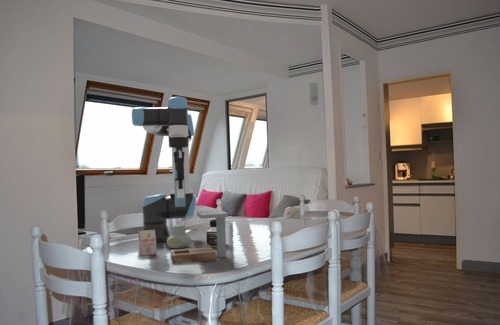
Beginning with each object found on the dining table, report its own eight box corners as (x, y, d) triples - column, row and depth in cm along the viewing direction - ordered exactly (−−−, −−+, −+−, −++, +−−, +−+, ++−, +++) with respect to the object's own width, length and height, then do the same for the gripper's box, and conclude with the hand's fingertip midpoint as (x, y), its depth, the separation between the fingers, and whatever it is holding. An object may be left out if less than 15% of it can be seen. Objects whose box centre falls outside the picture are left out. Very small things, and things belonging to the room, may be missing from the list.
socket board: (170, 257, 157) (170, 250, 157) (210, 254, 161) (210, 246, 161) (172, 263, 145) (172, 255, 145) (215, 260, 149) (215, 252, 149)
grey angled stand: (198, 254, 161) (196, 211, 161) (222, 252, 163) (220, 210, 164) (202, 261, 147) (201, 214, 148) (228, 259, 150) (227, 213, 150)
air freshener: (163, 249, 176) (163, 226, 176) (172, 245, 184) (172, 224, 184) (186, 249, 173) (185, 226, 173) (194, 246, 181) (193, 224, 181)
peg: (185, 205, 155) (184, 170, 155) (185, 206, 151) (184, 170, 152) (174, 206, 154) (173, 170, 154) (175, 207, 150) (174, 170, 151)
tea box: (138, 254, 165) (137, 230, 166) (154, 252, 168) (154, 229, 169) (139, 256, 162) (139, 231, 162) (156, 254, 165) (155, 230, 165)
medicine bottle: (206, 246, 179) (205, 220, 179) (213, 243, 185) (213, 218, 186) (220, 247, 176) (219, 220, 176) (227, 244, 183) (226, 218, 183)
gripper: (167, 139, 161) (169, 196, 160) (169, 134, 144) (171, 198, 143) (186, 139, 163) (187, 196, 162) (190, 134, 146) (192, 197, 145)
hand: (180, 197), depth 153 cm, fingers closed on peg, 4 cm apart
